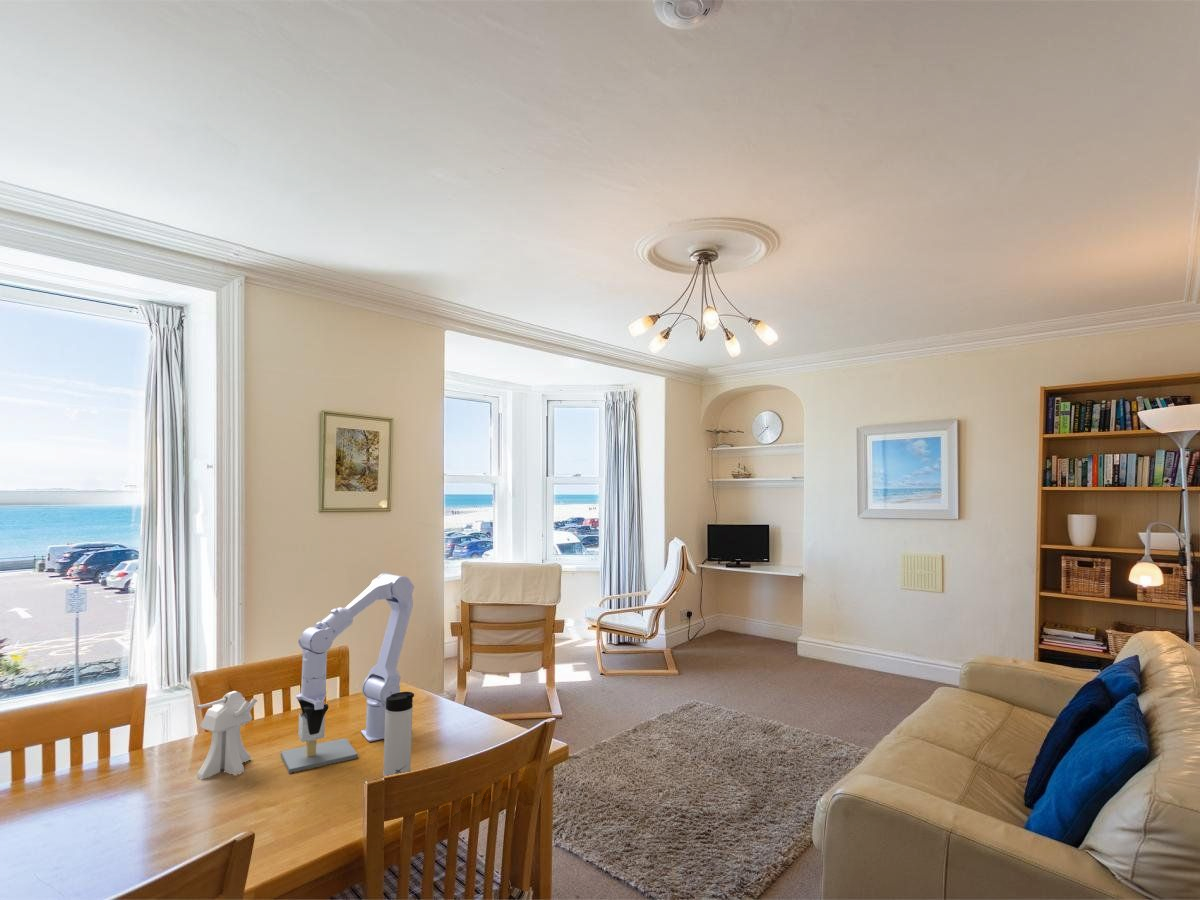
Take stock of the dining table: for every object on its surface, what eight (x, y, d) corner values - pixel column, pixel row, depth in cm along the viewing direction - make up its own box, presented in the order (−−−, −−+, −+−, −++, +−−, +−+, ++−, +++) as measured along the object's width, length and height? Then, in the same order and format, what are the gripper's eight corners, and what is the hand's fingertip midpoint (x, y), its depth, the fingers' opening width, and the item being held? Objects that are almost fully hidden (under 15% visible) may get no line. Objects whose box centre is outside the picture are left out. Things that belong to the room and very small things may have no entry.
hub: (319, 731, 167) (320, 709, 167) (324, 737, 163) (325, 715, 163) (298, 735, 164) (299, 713, 164) (302, 742, 160) (302, 719, 160)
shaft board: (345, 741, 174) (346, 717, 174) (357, 757, 164) (358, 732, 164) (280, 755, 164) (281, 729, 165) (289, 773, 155) (290, 746, 155)
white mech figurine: (179, 774, 153) (183, 697, 154) (233, 753, 165) (237, 682, 166) (209, 786, 147) (213, 707, 148) (263, 764, 159) (266, 690, 160)
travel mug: (403, 785, 150) (406, 698, 151) (377, 782, 151) (380, 696, 152) (416, 773, 156) (419, 690, 157) (391, 770, 158) (394, 687, 158)
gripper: (291, 670, 168) (289, 723, 167) (302, 686, 156) (300, 743, 155) (320, 666, 172) (318, 718, 171) (333, 681, 160) (331, 736, 159)
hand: (311, 729), depth 163 cm, fingers closed on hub, 5 cm apart
